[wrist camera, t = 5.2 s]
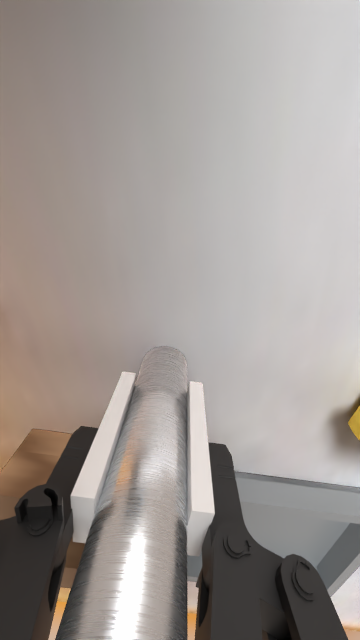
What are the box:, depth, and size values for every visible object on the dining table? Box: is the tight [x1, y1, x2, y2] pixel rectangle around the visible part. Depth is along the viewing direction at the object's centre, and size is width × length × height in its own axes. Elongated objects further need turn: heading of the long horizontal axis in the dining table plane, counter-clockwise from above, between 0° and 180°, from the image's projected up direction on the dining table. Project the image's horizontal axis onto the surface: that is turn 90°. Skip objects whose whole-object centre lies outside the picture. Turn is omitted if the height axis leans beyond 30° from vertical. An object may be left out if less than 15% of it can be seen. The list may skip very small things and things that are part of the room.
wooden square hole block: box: [0, 429, 85, 588], centre depth 20 cm, size 12×12×5 cm
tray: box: [187, 472, 360, 597], centre depth 23 cm, size 18×14×2 cm
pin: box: [55, 346, 187, 640], centre depth 10 cm, size 3×3×14 cm
